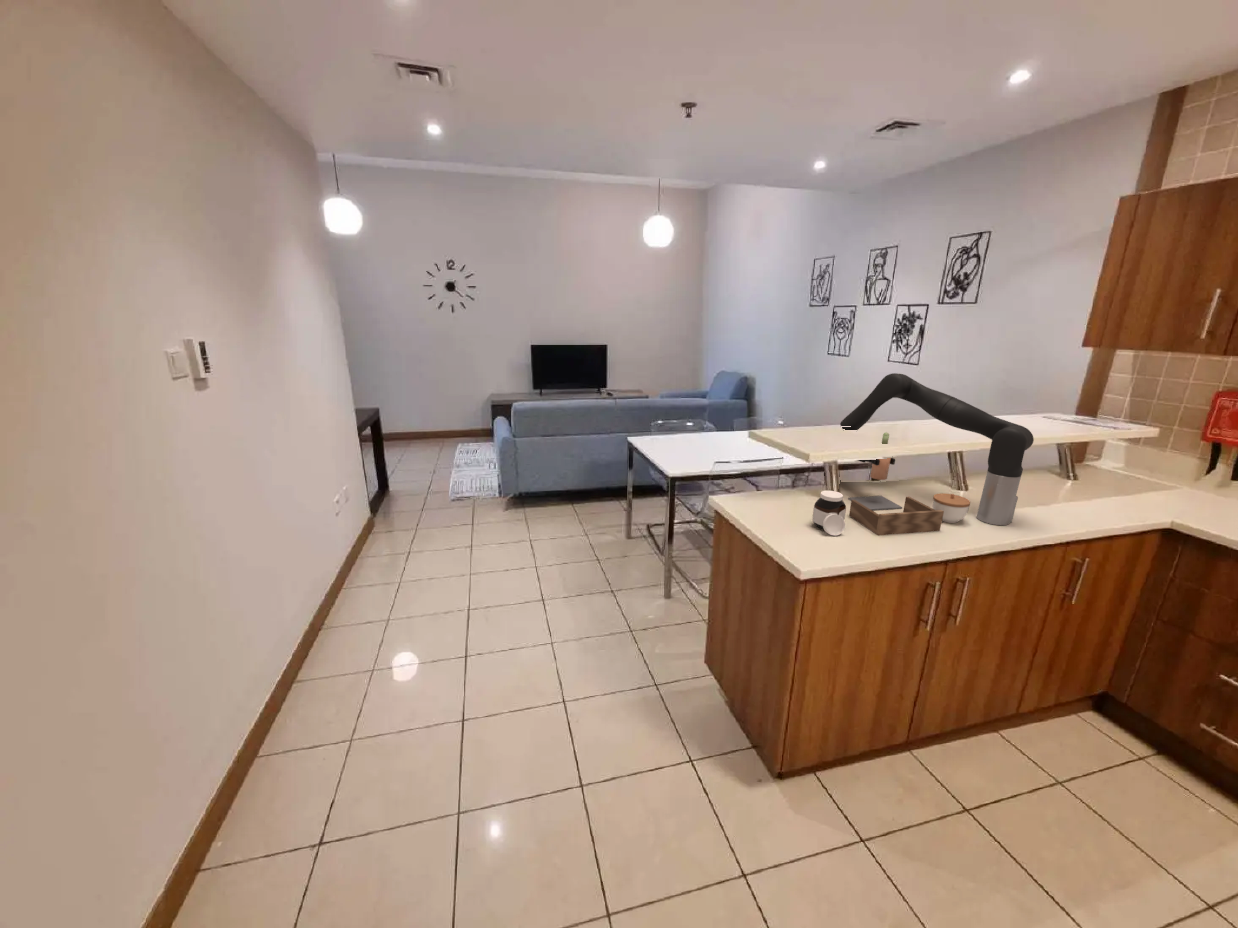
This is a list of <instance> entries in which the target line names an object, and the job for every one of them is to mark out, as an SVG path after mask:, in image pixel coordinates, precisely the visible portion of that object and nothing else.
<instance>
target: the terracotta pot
mask: <svg viewBox="0 0 1238 928" xmlns="http://www.w3.org/2000/svg"><path fill="white" fill-rule="evenodd" d="M889 438H890V434H889V432H887V431H886V432H884V433H883V434H882V438H881V439H882V440H881V443H882V444H889ZM879 460H880V462H879V465H874V464H872V463H871V469H870V478H871V479H874V480H878V481H886V480H887V479H888V476H889V471H890V465H891V464H890V460H891V458H887V459H879Z"/></svg>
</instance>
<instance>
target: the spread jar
mask: <svg viewBox="0 0 1238 928" xmlns="http://www.w3.org/2000/svg"><path fill="white" fill-rule="evenodd" d="M843 497H844V494H842V493H841V492H839V491H835V490H821V492H820V496H819V498H818V499H817V500H816V501H815V503H814V505H813V508H812V509H813V511H812V516H811V517H812V519H811V520H812V522H813V523H814V525H815V526H816V527H817V528H819V529H822V530H824V532H825V533H827V534H828V535H831V536H833V537H835V536H839V535H841V534H842V533H843V532H844V531H845V529H846V521H845V519H846V513H847V506H846V503H845V502H844V501H843Z"/></svg>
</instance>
